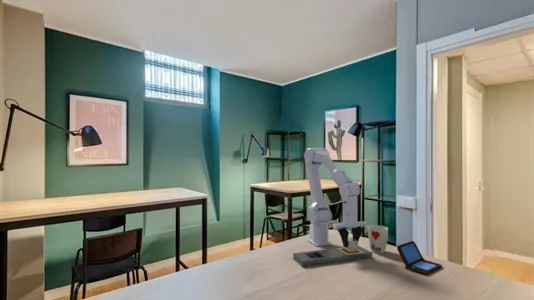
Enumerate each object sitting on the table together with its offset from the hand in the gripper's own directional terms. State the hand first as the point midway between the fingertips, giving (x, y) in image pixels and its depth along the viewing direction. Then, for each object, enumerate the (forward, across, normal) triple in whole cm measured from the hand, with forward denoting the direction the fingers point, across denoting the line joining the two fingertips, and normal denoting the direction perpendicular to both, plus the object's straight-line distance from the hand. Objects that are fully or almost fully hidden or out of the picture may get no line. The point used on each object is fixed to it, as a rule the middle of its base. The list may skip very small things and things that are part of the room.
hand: (350, 246), depth 113 cm
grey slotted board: (+4, -8, 0) cm, 9 cm away
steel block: (+3, 0, 0) cm, 3 cm away
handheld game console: (+4, +18, -17) cm, 25 cm away
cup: (+4, +14, +1) cm, 15 cm away
